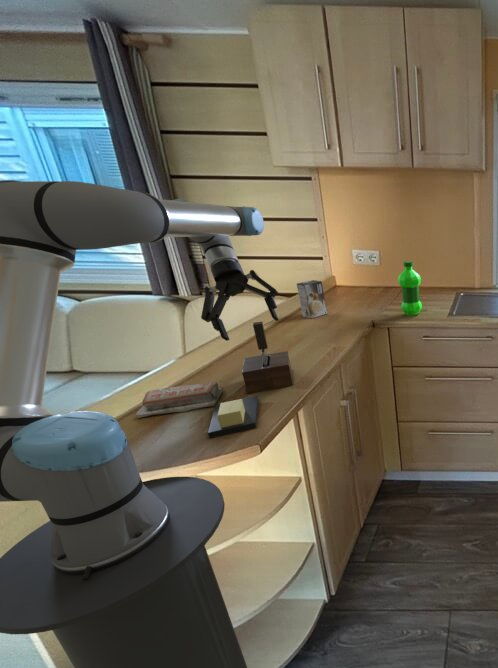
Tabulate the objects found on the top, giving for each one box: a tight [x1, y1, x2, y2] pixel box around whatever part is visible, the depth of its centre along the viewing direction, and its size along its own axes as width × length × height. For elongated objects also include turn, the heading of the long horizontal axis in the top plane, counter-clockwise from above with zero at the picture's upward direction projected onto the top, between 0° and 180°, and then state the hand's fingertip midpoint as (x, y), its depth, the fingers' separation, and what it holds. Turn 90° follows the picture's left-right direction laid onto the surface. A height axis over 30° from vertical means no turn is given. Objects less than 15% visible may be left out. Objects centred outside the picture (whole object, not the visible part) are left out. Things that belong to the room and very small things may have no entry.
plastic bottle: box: [397, 260, 423, 317], centre depth 191 cm, size 10×10×25 cm
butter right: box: [229, 398, 245, 425], centre depth 104 cm, size 7×2×4 cm, turn 27°
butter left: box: [217, 400, 232, 428], centre depth 103 cm, size 7×2×4 cm, turn 27°
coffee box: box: [296, 279, 328, 319], centre depth 190 cm, size 9×6×16 cm
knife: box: [252, 321, 270, 367], centre depth 124 cm, size 8×2×19 cm, turn 27°
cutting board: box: [207, 395, 259, 439], centre depth 107 cm, size 16×10×2 cm, turn 27°
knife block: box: [241, 351, 294, 394], centre depth 126 cm, size 12×12×7 cm
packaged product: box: [134, 381, 223, 419], centre depth 113 cm, size 18×5×10 cm
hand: (251, 328), depth 113 cm, fingers open, 13 cm apart
